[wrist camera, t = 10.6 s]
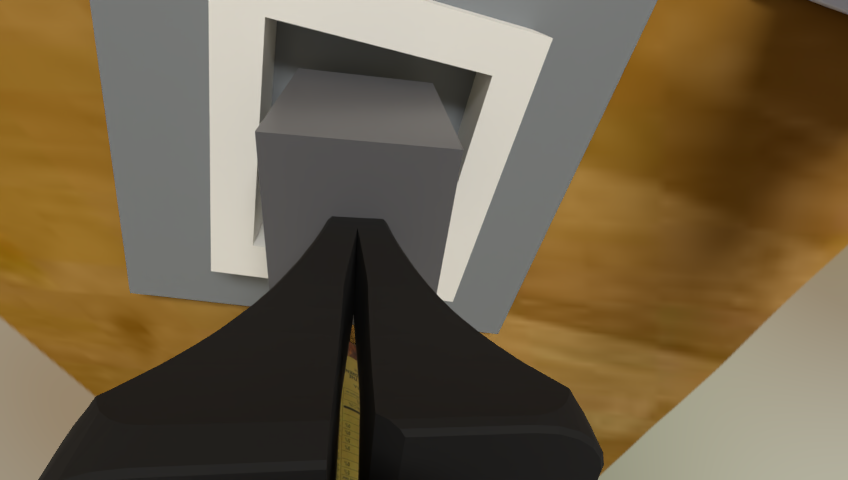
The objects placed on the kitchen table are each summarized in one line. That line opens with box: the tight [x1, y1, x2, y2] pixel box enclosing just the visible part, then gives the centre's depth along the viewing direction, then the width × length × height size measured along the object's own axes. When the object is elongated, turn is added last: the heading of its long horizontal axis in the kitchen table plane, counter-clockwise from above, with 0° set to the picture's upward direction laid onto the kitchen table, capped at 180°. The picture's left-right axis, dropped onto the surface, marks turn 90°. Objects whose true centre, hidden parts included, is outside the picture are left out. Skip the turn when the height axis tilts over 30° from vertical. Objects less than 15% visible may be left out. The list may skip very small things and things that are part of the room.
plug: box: [255, 68, 463, 325], centre depth 13 cm, size 4×5×7 cm
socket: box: [90, 0, 657, 334], centre depth 16 cm, size 18×18×3 cm
